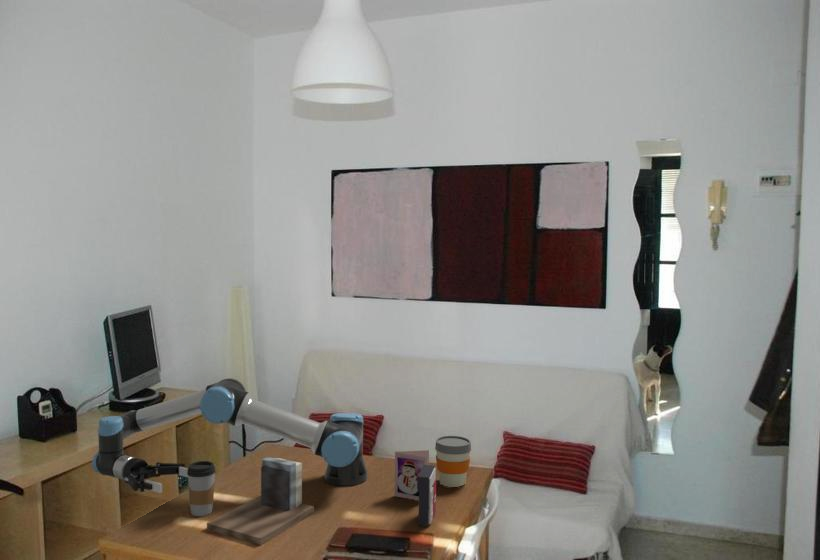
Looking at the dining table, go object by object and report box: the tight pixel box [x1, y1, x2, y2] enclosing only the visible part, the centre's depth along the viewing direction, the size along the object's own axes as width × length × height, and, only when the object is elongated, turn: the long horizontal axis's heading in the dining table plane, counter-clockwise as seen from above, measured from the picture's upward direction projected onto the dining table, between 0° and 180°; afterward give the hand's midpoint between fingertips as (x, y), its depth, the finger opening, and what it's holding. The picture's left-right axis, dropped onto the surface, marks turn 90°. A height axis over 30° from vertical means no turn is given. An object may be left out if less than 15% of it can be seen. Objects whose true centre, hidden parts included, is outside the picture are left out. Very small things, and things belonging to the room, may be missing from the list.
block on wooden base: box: [206, 456, 315, 546], centre depth 200 cm, size 20×25×16 cm
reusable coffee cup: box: [434, 435, 472, 488], centre depth 233 cm, size 13×13×15 cm
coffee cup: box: [187, 460, 216, 517], centre depth 205 cm, size 8×8×15 cm
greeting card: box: [393, 449, 430, 501], centre depth 221 cm, size 11×7×15 cm, turn 65°
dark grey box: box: [417, 464, 437, 527], centre depth 203 cm, size 11×4×15 cm, turn 168°
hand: (178, 481), depth 210 cm, fingers open, 13 cm apart
